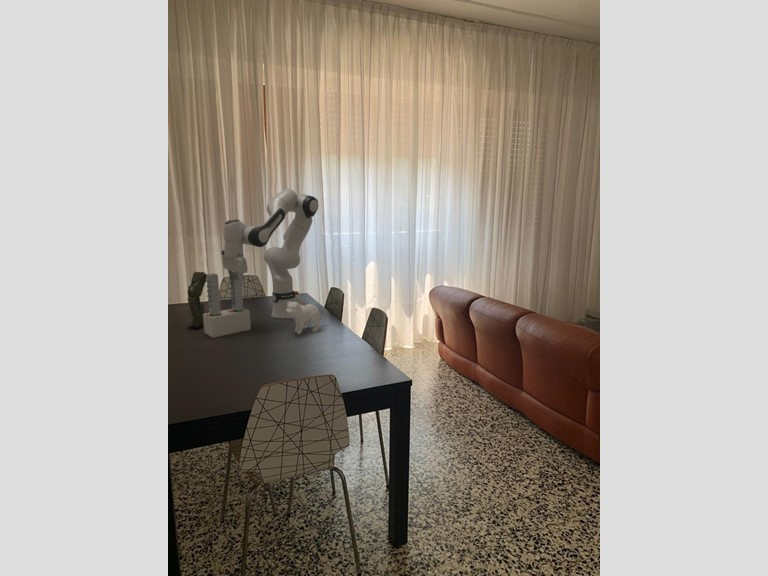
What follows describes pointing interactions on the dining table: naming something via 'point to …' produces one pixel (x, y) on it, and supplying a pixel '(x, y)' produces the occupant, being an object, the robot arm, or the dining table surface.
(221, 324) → the frame
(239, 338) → the dining table surface
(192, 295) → the mechanical leg
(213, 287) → the column
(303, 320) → the white animal figurine
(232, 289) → the column
